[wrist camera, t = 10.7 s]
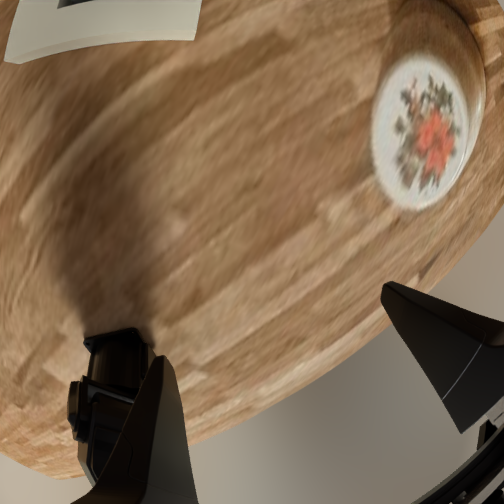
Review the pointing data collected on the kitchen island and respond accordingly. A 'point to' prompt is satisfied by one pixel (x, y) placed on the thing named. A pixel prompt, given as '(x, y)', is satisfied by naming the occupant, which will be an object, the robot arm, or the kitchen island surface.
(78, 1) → the plug
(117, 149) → the kitchen island surface
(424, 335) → the robot arm
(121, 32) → the socket box
